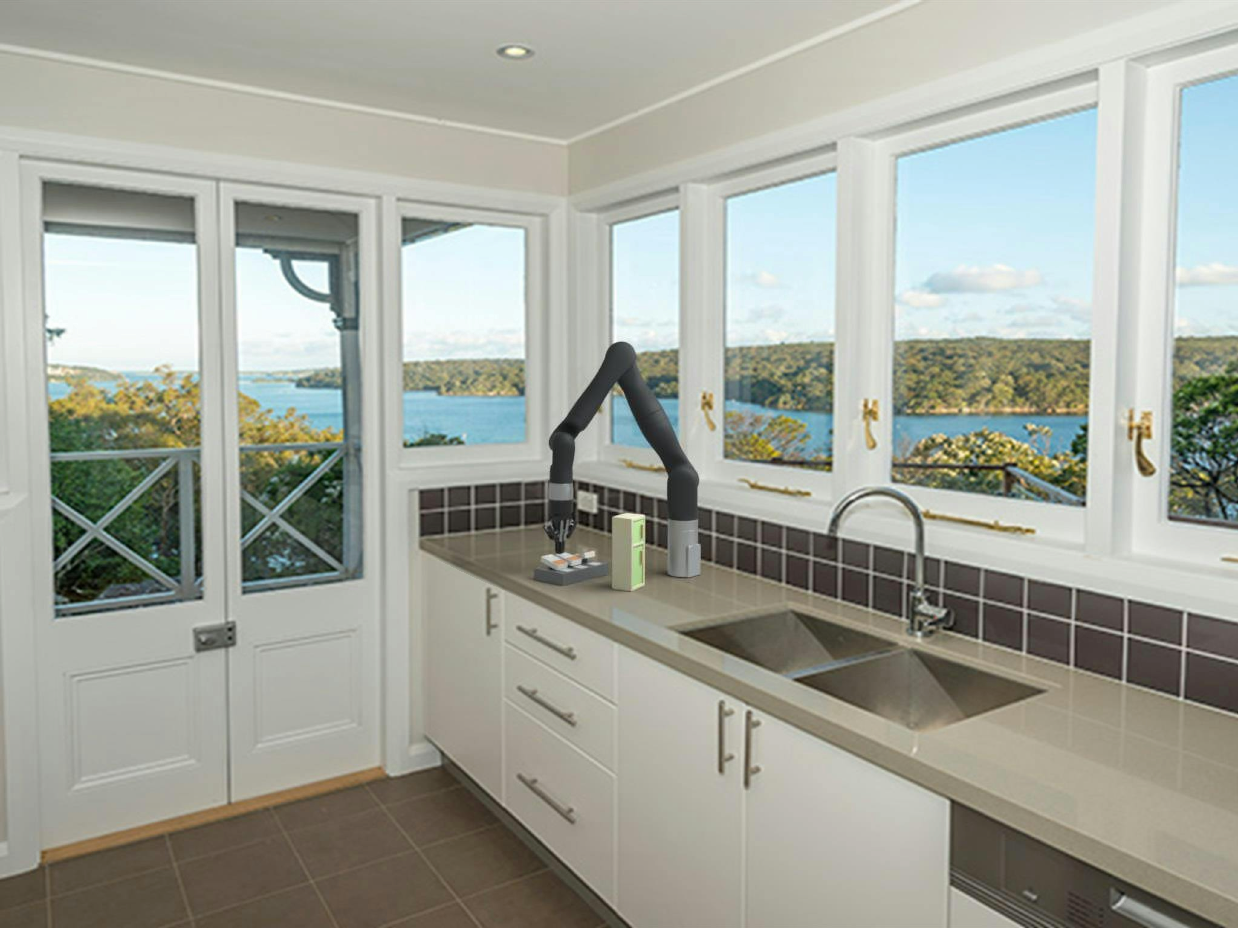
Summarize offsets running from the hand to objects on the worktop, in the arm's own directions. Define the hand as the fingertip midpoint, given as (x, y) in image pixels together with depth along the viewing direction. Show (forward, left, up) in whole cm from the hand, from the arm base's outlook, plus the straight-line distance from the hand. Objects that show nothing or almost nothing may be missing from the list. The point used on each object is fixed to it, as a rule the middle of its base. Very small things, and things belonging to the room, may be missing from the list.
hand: (559, 553), depth 287 cm
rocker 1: (-4, +6, -1) cm, 7 cm away
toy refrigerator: (-27, -1, -7) cm, 28 cm away
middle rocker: (-4, 0, -1) cm, 4 cm away
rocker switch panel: (-5, -2, -7) cm, 9 cm away
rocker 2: (-4, -6, -1) cm, 7 cm away
